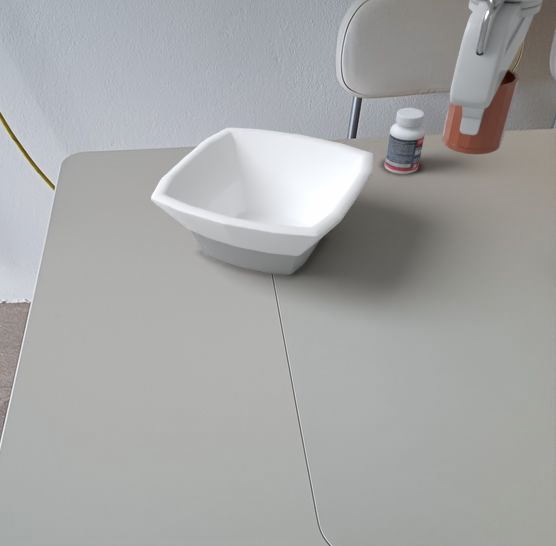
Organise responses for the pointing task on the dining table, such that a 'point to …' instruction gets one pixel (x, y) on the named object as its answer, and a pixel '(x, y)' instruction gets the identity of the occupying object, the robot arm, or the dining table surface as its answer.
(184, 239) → the dining table surface
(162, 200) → the bowl
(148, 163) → the dining table surface
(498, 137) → the cup
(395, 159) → the pill bottle
